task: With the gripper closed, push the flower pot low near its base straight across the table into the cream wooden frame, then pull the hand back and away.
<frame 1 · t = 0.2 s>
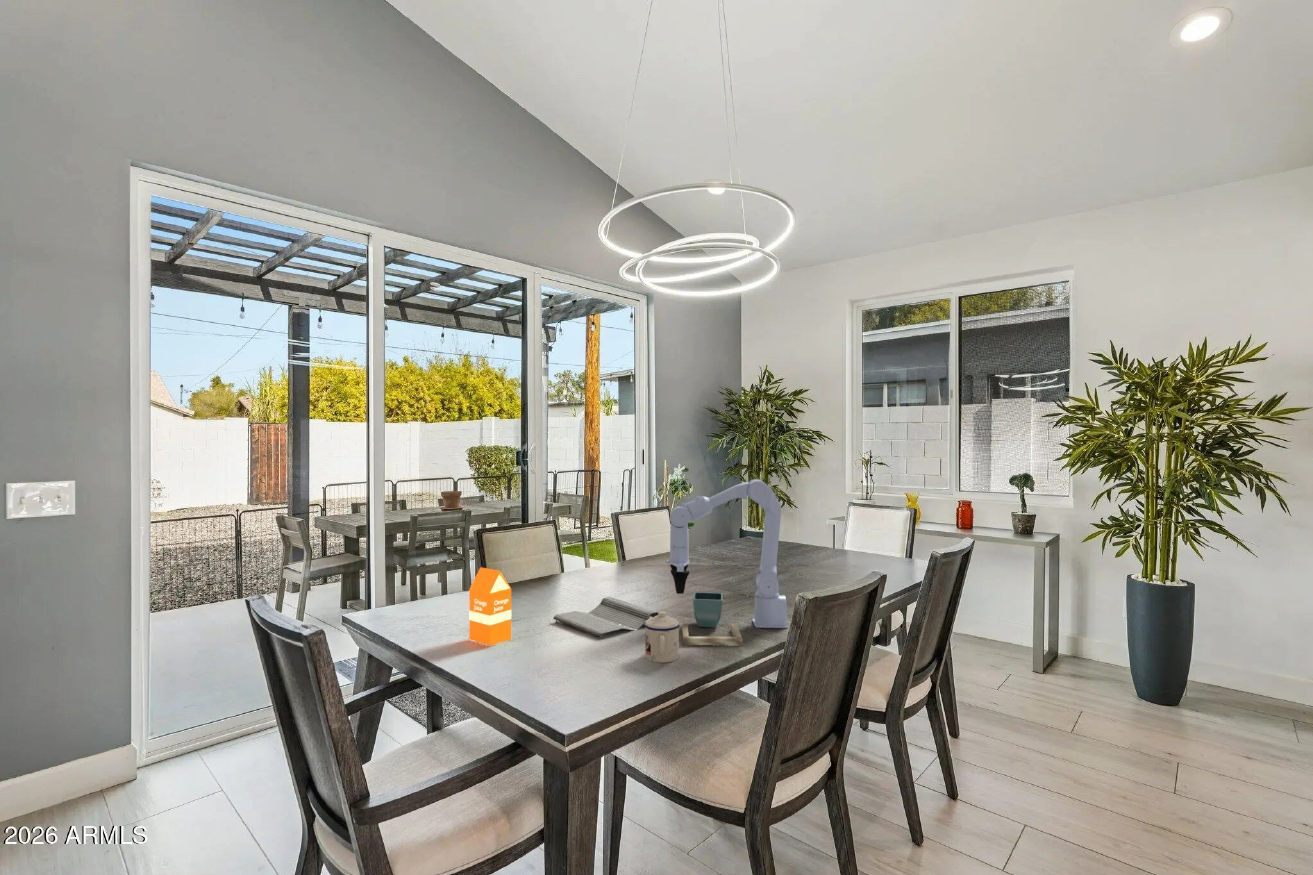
hand: (679, 590, 190), 10 cm above the table, tool pointing down, fingers open, 7 cm apart
teacup with lid: (661, 660, 159), on the table
cream wooden frame: (710, 636, 177), on the table
mat: (606, 625, 190), on the table
flower pot: (707, 626, 188), on the table
orange juice: (490, 641, 173), on the table
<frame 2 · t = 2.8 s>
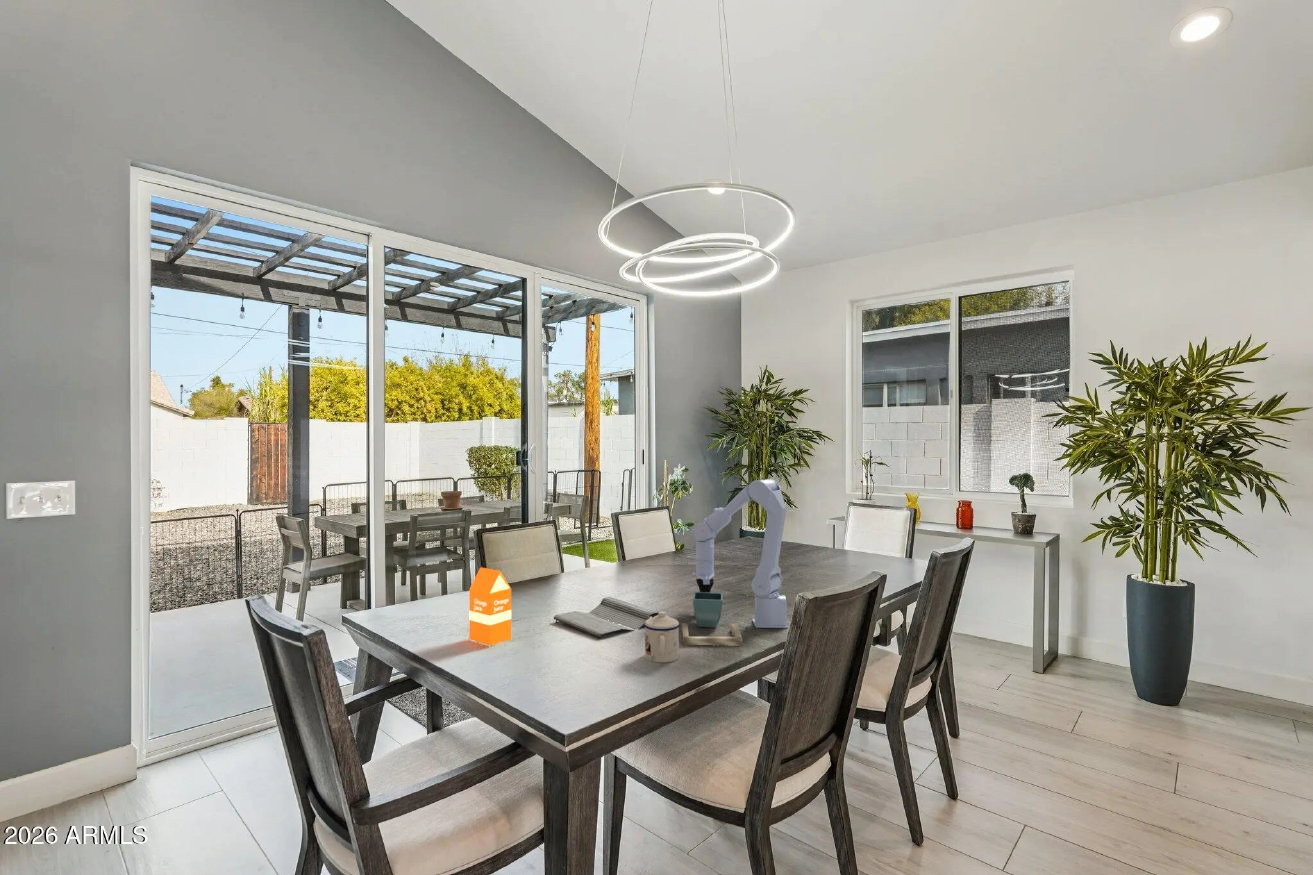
hand: (704, 601, 201), 4 cm above the table, tool pointing down, fingers closed
nothing on the table moved.
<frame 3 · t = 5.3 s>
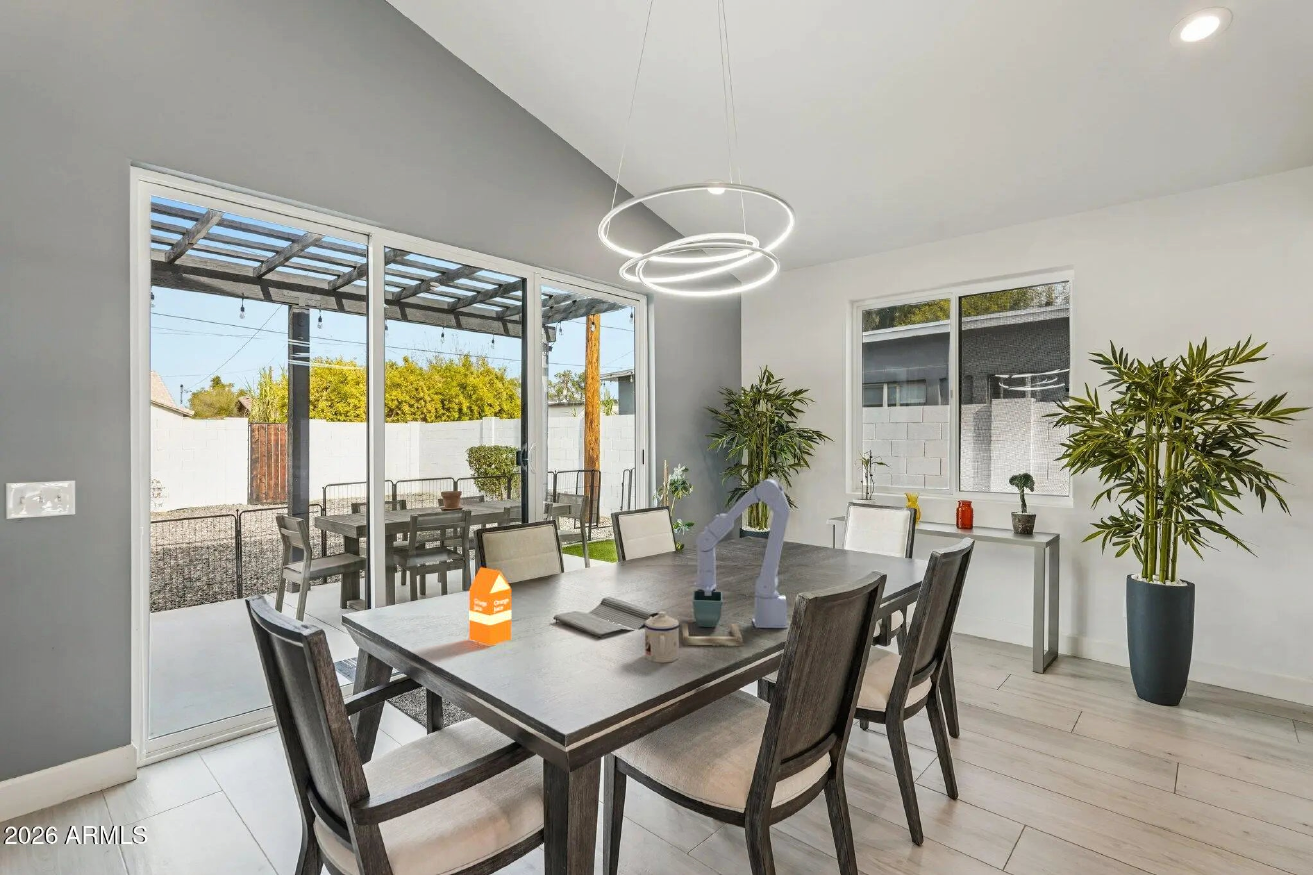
hand: (706, 613, 194), 2 cm above the table, tool pointing down, fingers closed
flower pot: (707, 624, 188), on the table, touching gripper
everything else where it was.
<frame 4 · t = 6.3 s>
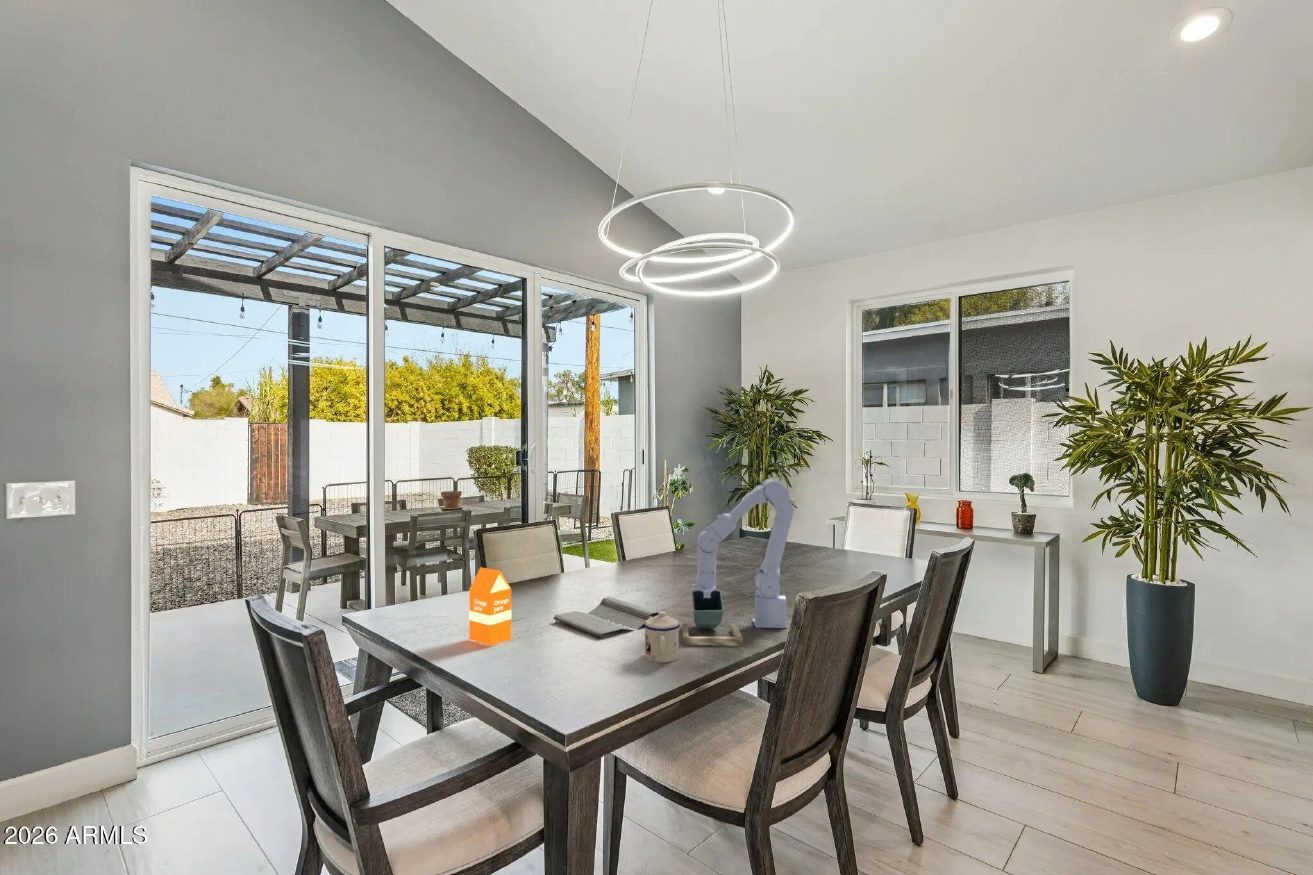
hand: (704, 615, 189), 3 cm above the table, tool pointing down, fingers closed, pressing on flower pot
flower pot: (706, 622, 186), point 1 cm above the table, touching gripper
everything else where it was.
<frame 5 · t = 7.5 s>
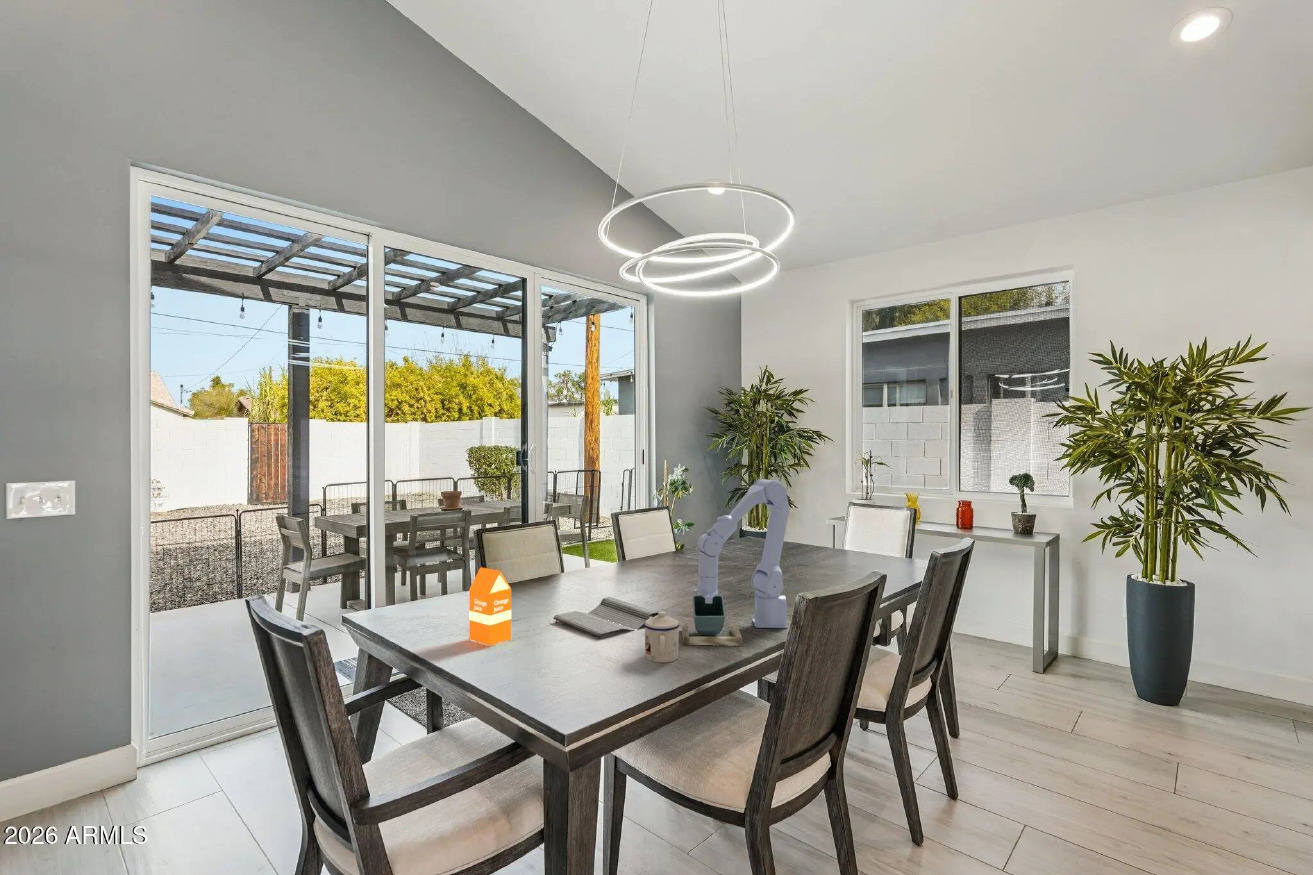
hand: (706, 621, 182), 3 cm above the table, tool pointing down, fingers closed, pressing on flower pot
flower pot: (708, 629, 180), point 1 cm above the table, touching gripper
everything else where it was.
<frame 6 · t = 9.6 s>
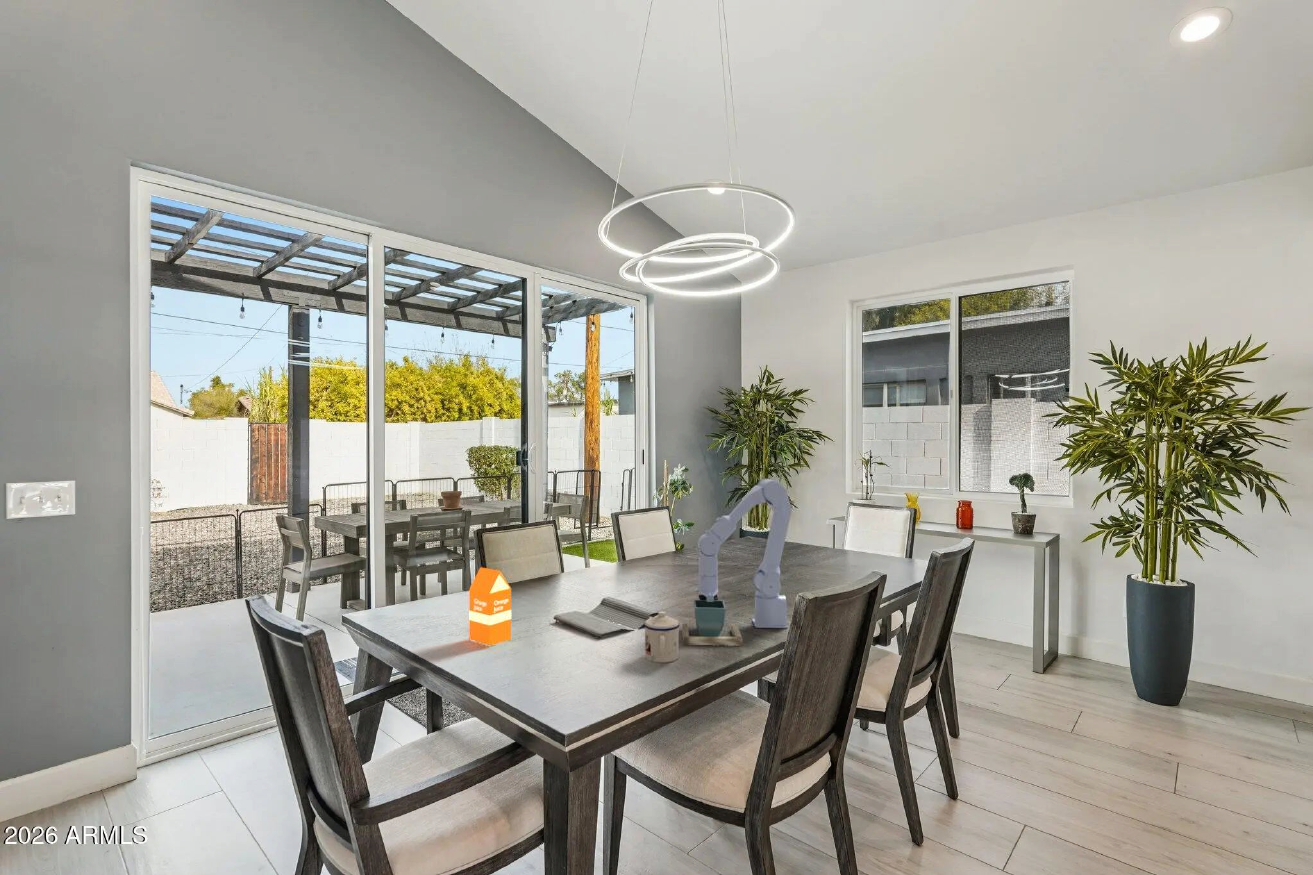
hand: (708, 619, 187), 2 cm above the table, tool pointing down, fingers closed
flower pot: (709, 635, 179), on the table
everything else where it was.
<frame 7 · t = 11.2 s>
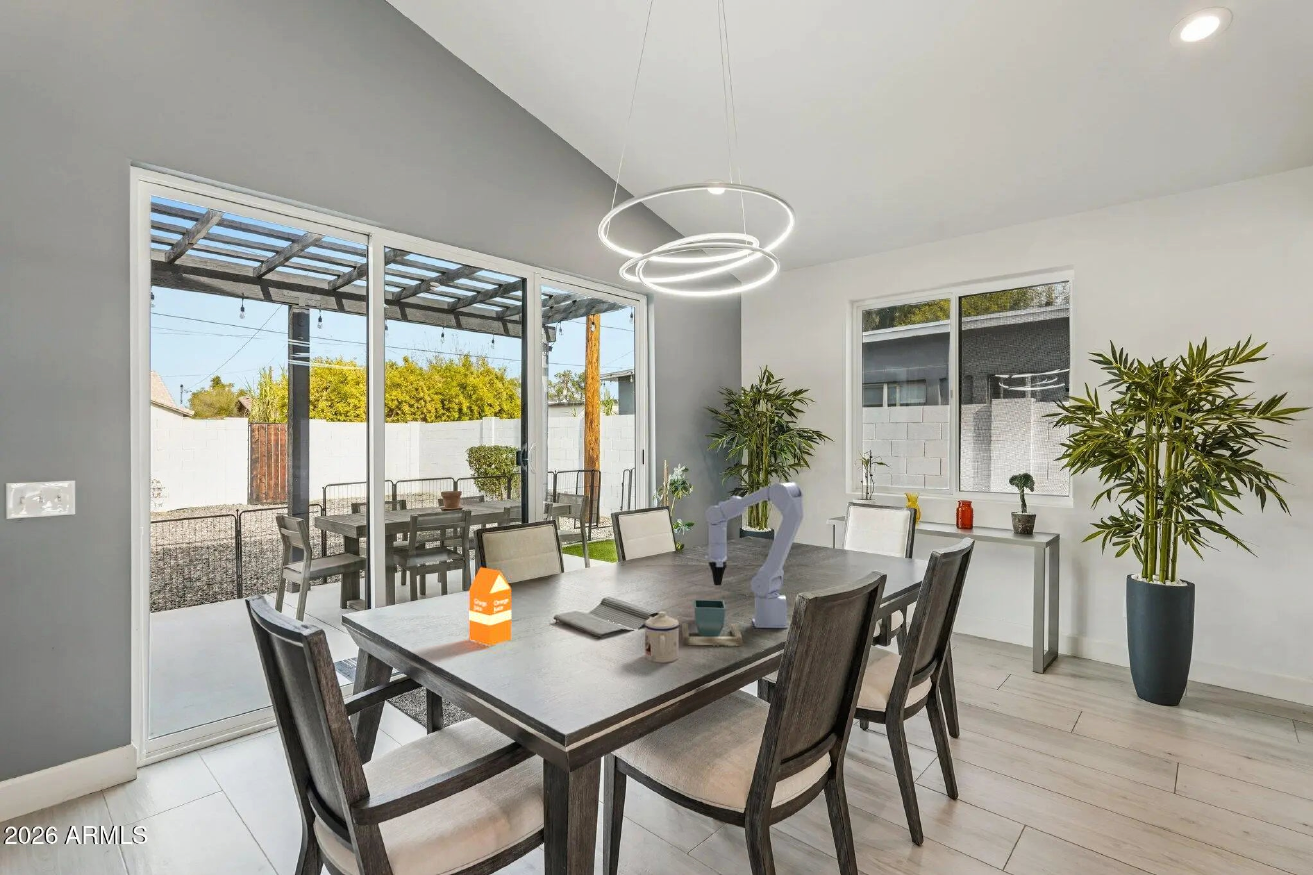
hand: (717, 584, 200), 9 cm above the table, tool pointing down, fingers closed
nothing on the table moved.
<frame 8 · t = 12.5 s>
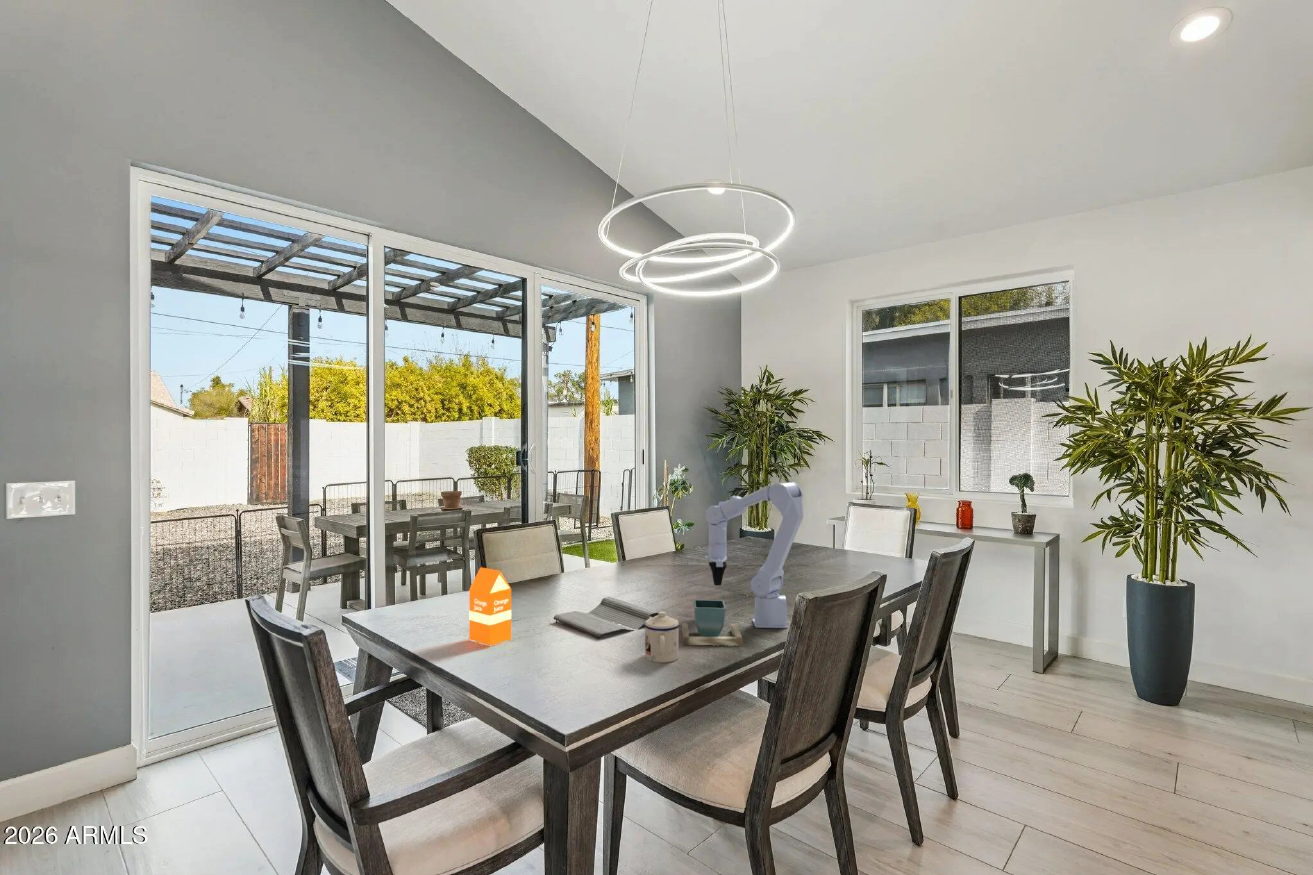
hand: (717, 584, 200), 9 cm above the table, tool pointing down, fingers closed
nothing on the table moved.
at the end: flower pot inside the target area on the cream wooden frame (1.5 cm from its centre), point 0.0 cm above the cream wooden frame's base; flower pot tilted 0° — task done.
